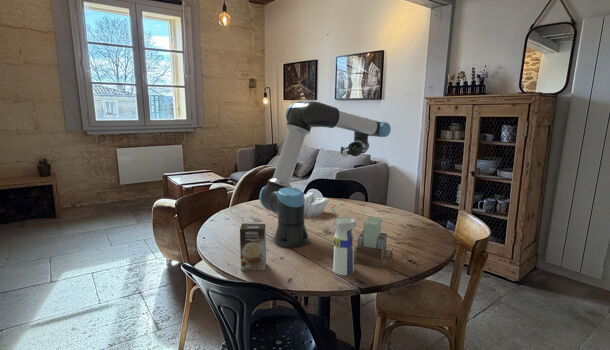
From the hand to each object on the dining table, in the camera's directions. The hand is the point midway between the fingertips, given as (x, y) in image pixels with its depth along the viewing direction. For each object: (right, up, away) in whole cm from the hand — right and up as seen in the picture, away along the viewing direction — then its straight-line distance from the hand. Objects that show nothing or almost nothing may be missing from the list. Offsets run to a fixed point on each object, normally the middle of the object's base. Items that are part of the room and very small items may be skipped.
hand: (343, 153), depth 154 cm
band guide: (+9, -43, -21) cm, 48 cm away
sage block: (+9, -41, -21) cm, 47 cm away
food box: (-37, -45, -29) cm, 65 cm away
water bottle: (-4, -45, -32) cm, 55 cm away
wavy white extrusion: (-22, -32, +40) cm, 55 cm away
